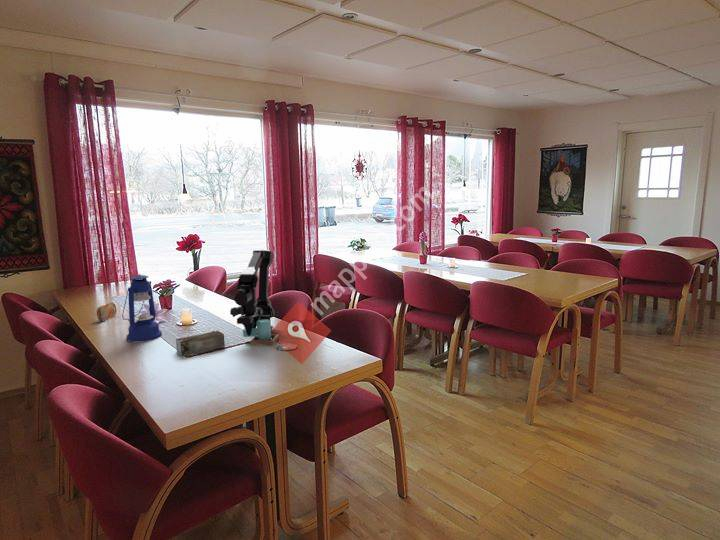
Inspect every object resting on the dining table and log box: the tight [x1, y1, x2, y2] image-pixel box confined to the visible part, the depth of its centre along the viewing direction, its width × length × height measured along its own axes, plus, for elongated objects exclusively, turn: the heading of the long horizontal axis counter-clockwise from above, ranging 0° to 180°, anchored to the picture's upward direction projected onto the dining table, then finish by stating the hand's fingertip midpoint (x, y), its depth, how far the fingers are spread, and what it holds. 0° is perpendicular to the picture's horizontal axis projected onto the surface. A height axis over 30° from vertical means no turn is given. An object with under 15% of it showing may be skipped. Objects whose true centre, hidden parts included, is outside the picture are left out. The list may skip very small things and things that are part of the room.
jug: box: [242, 319, 273, 341], centre depth 209 cm, size 12×6×10 cm, turn 88°
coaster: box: [276, 342, 291, 351], centre depth 201 cm, size 9×9×1 cm
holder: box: [250, 333, 280, 346], centre depth 209 cm, size 10×10×2 cm
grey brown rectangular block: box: [175, 330, 226, 357], centre depth 200 cm, size 8×19×7 cm, turn 127°
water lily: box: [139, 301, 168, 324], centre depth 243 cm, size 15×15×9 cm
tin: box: [96, 302, 117, 322], centre depth 250 cm, size 15×3×8 cm, turn 179°
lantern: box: [122, 274, 162, 342], centre depth 216 cm, size 17×15×30 cm
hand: (251, 333), depth 209 cm, fingers open, 6 cm apart
